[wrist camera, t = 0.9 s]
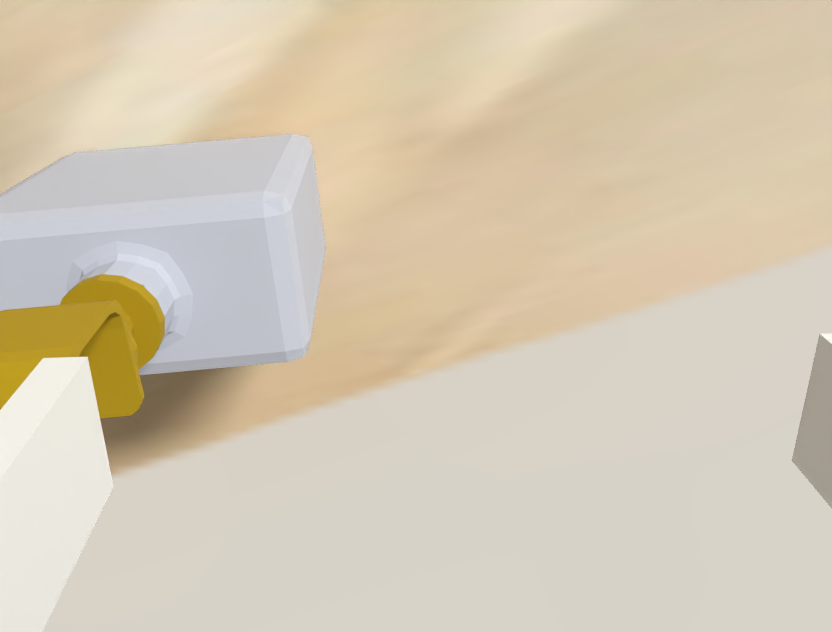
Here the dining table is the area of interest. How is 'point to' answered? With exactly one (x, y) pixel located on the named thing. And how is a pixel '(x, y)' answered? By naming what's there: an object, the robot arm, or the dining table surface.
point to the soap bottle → (161, 262)
